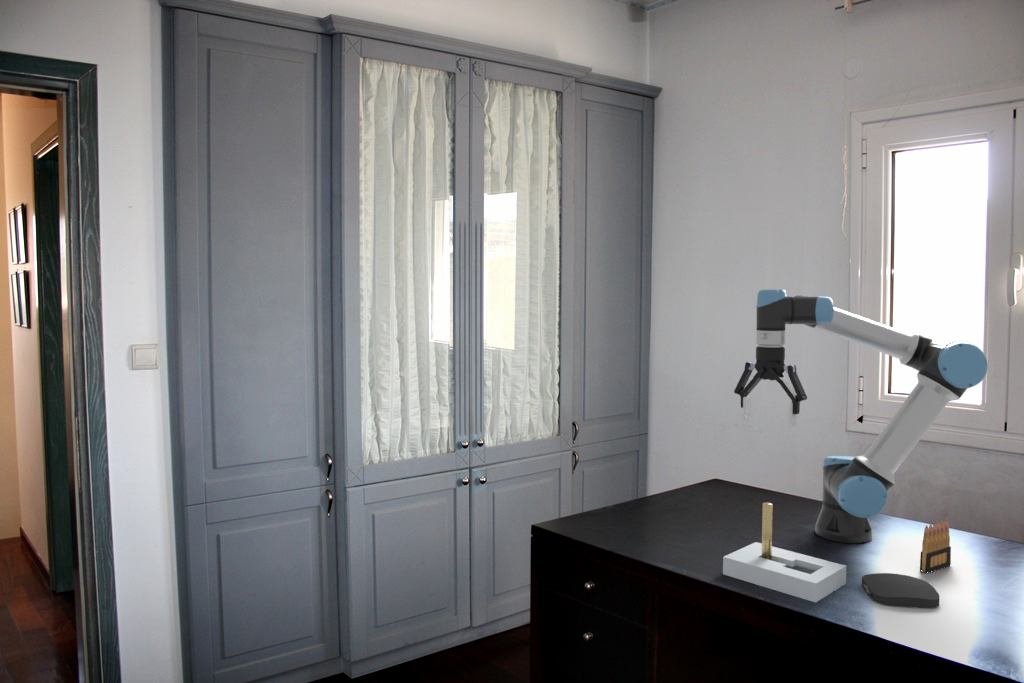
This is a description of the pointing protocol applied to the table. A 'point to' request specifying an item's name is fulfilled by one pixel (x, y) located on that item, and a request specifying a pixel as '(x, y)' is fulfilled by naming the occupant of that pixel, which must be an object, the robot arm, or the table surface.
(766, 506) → the brass peg
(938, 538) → the ammunition clip
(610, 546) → the table surface
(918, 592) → the media streaming box
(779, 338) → the robot arm
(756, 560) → the keyhole plate
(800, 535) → the table surface
